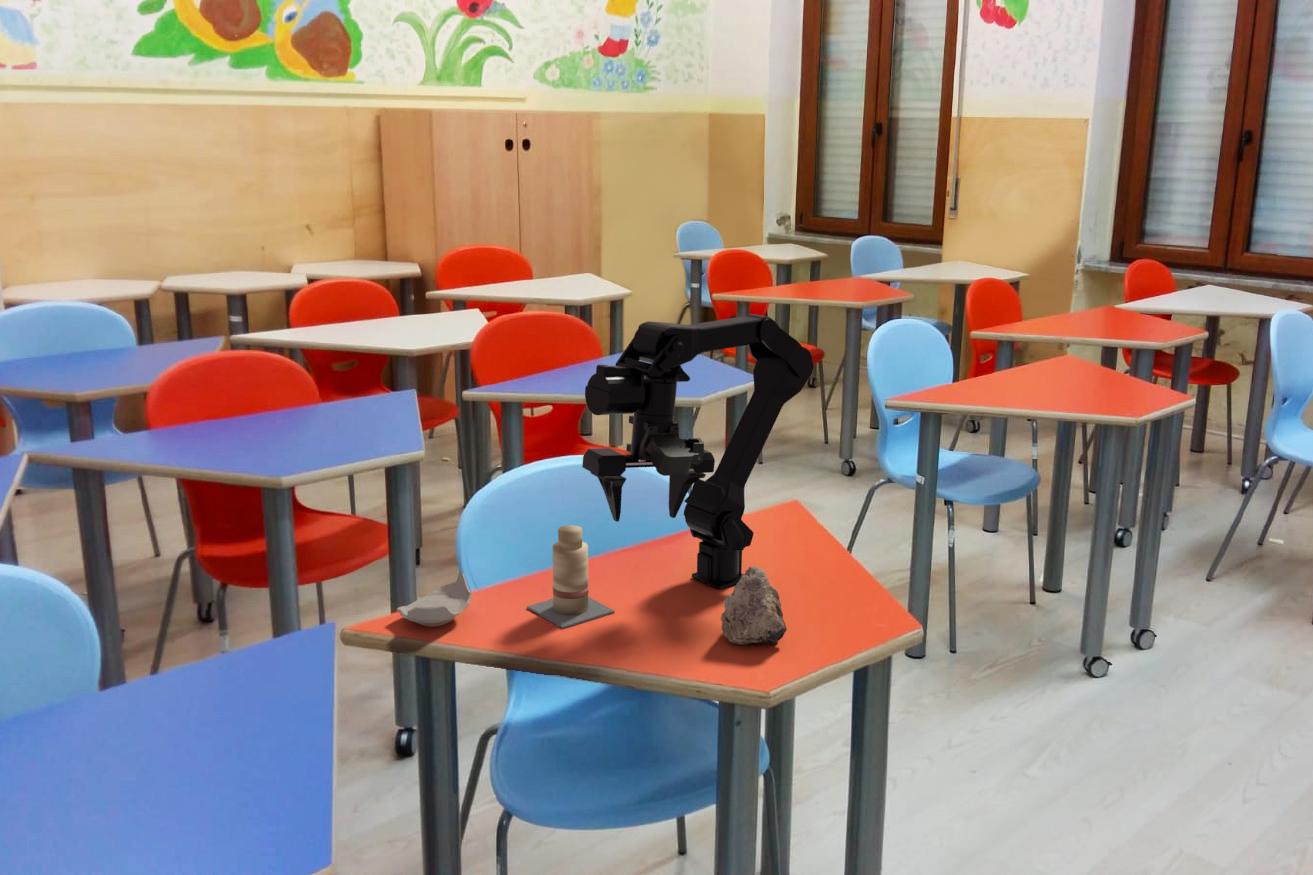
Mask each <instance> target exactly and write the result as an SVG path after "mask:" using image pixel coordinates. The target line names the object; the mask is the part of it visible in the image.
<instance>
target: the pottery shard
mask: <svg viewBox="0 0 1313 875" xmlns="http://www.w3.org/2000/svg"><path fill="white" fill-rule="evenodd" d="M472 595H473V594H472V592H471V591H470V588H469V585H468V582H467V580H466V577H465V574H464V572H461V573H460V574H459V576H458V579H457V580H456V581H454V582H451V583H448V584H444V585H441V586H440V587H438V588H436V589H434V590H432V591H430V593H429V594H427V595H426V596H424V597H421V598H419V599H417V600H415V601H414V602H412V603H410V604H408V605H404V606H403V605H402V606H399V607H398V606H397V608H396V611H397V613H399V614H400V616H401V617H403V618H404V619H406V620H407V621H410V622H414V623H417V624H418V625H421V626H425V627H431V628H432V627H440V626H444V625H447V624H448V623H451V622H452V621H453V618H455V617H458V616H459V615H460V614H462V613H463V612H464V611H465V610H466V609H467V608H468V607H469V605H470V603H471V599H472Z"/></svg>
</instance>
